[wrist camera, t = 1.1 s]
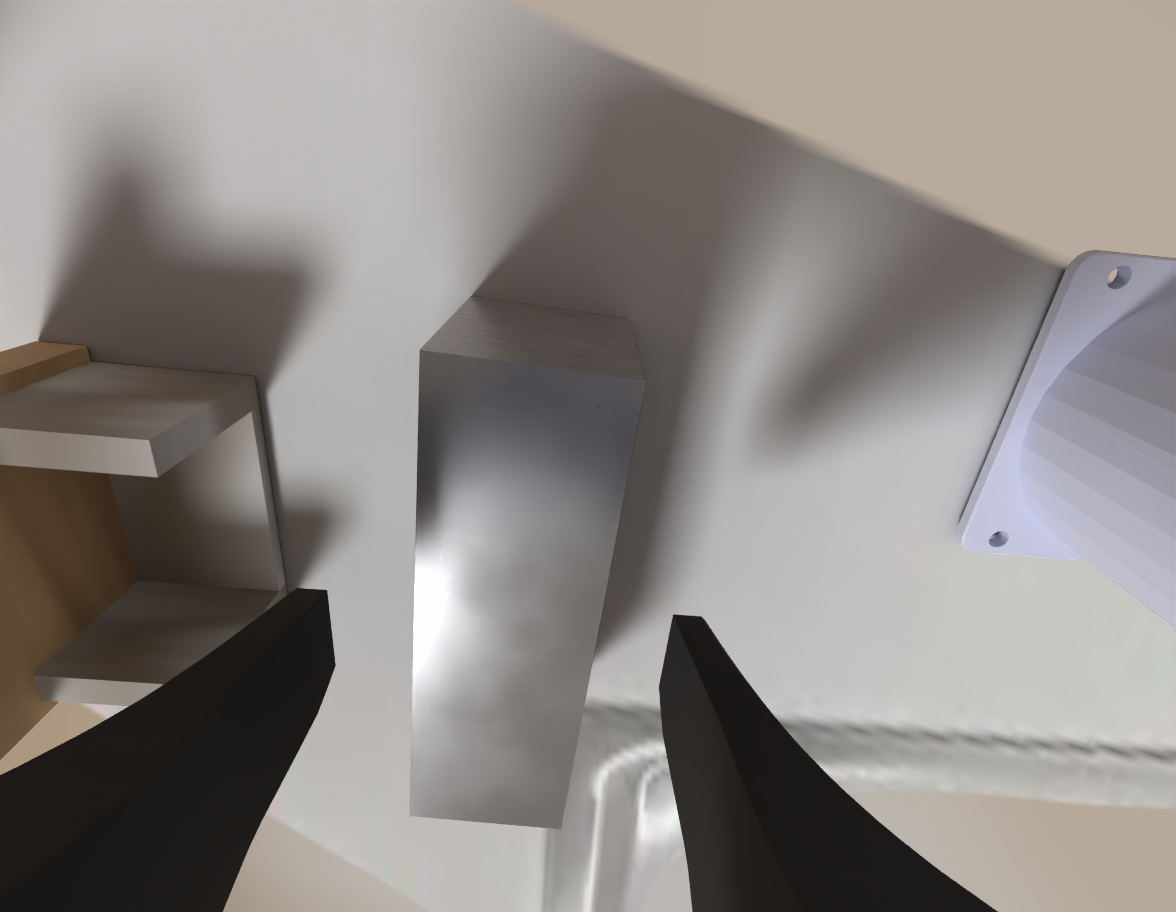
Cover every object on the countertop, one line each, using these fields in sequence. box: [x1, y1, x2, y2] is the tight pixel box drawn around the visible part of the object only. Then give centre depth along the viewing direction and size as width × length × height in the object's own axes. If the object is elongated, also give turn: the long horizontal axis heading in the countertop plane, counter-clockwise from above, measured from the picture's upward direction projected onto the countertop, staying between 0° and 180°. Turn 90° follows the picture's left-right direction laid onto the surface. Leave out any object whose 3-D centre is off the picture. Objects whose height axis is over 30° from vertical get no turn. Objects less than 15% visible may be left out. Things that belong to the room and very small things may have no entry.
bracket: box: [0, 341, 287, 760], centre depth 14 cm, size 5×8×6 cm, turn 175°
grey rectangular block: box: [410, 296, 646, 829], centre depth 15 cm, size 12×4×5 cm, turn 172°
